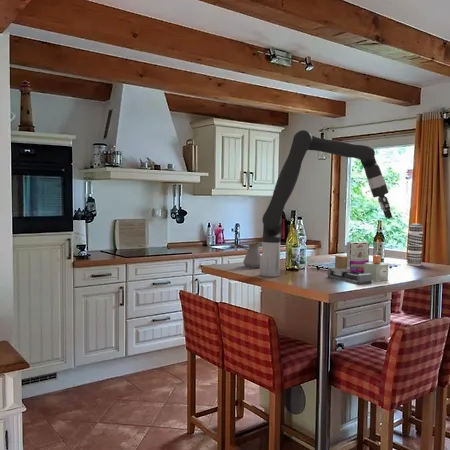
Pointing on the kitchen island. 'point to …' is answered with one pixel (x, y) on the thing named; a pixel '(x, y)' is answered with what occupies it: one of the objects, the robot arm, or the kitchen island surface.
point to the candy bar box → (357, 256)
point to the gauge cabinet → (377, 271)
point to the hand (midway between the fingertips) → (389, 217)
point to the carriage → (340, 265)
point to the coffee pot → (251, 256)
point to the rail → (359, 278)
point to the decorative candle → (415, 245)
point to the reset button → (376, 259)
